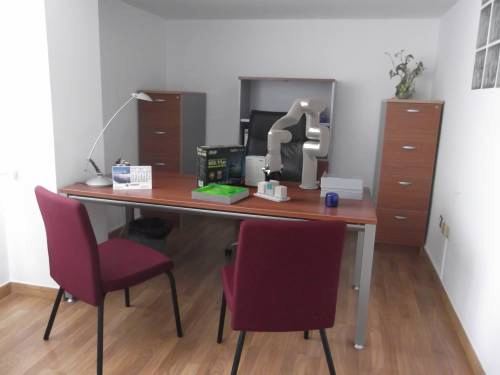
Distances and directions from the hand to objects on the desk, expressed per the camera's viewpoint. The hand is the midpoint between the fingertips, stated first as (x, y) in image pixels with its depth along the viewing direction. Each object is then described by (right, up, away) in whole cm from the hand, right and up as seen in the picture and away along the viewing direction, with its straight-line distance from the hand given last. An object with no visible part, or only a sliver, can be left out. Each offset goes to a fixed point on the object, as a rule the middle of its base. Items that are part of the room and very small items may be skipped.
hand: (273, 180), depth 246 cm
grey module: (0, -8, +2) cm, 8 cm away
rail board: (-1, -10, +2) cm, 10 cm away
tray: (-31, -11, -1) cm, 33 cm away
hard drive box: (-9, -3, +36) cm, 37 cm away
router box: (-33, -3, +33) cm, 47 cm away
